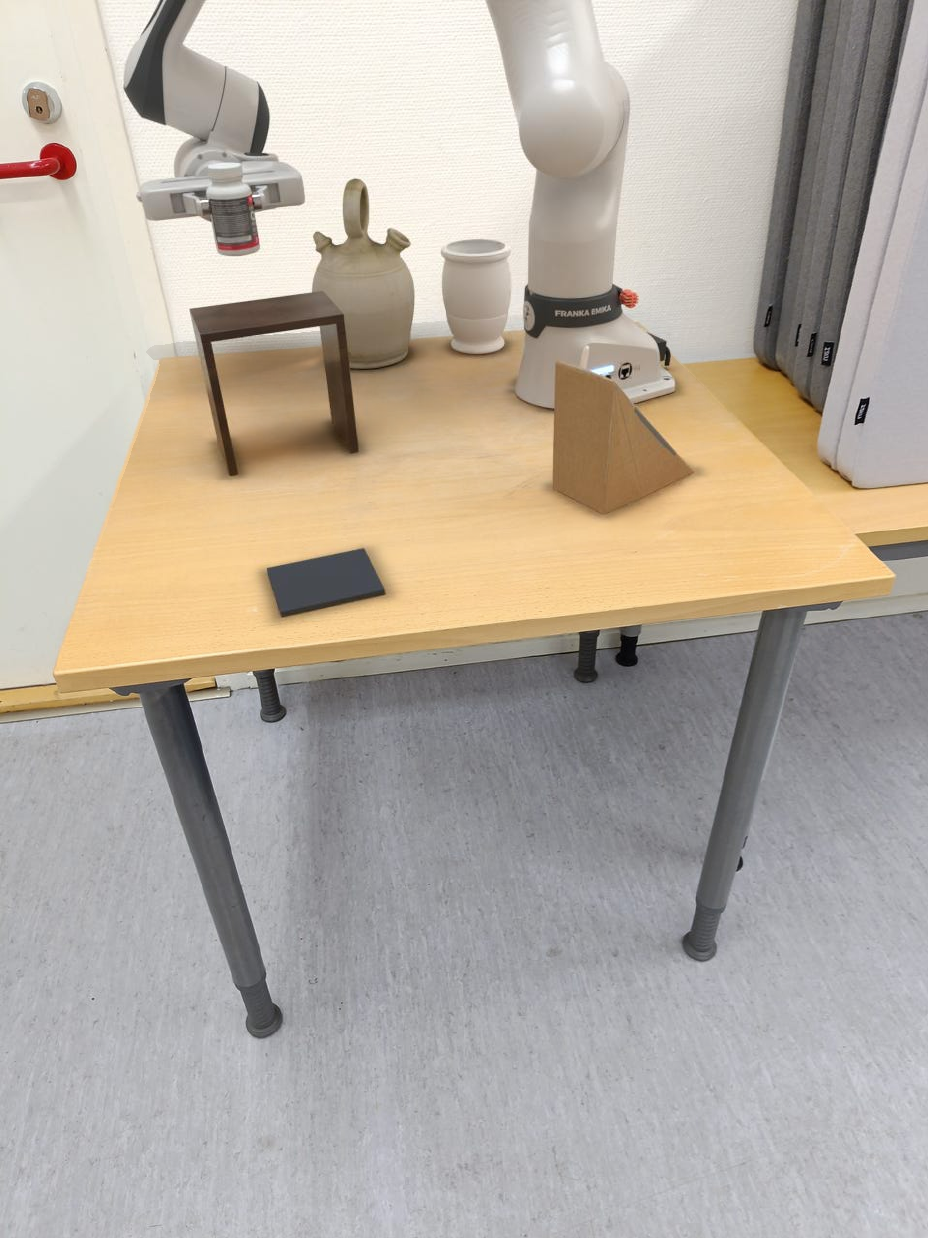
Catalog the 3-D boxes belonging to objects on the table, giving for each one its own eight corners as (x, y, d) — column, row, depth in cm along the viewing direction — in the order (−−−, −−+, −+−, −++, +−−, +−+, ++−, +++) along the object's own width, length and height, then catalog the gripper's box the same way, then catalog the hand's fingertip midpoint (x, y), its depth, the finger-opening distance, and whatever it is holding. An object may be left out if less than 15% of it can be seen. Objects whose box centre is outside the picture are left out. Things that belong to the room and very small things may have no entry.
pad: (364, 552, 89) (364, 547, 88) (385, 594, 83) (384, 589, 82) (267, 572, 86) (266, 567, 86) (281, 617, 80) (280, 611, 80)
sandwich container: (697, 472, 101) (716, 344, 92) (605, 515, 93) (615, 381, 84) (641, 448, 106) (654, 325, 97) (550, 487, 99) (555, 358, 90)
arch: (217, 442, 111) (189, 308, 101) (339, 421, 115) (323, 290, 105) (229, 476, 103) (199, 334, 93) (358, 451, 108) (343, 313, 97)
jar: (520, 339, 139) (521, 240, 130) (495, 361, 131) (494, 257, 122) (461, 332, 143) (458, 235, 134) (433, 352, 135) (428, 251, 126)
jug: (434, 344, 138) (426, 171, 123) (389, 379, 127) (373, 192, 112) (351, 334, 143) (334, 166, 128) (300, 366, 132) (275, 186, 117)
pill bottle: (267, 252, 108) (254, 165, 102) (226, 259, 105) (210, 170, 100) (251, 243, 111) (236, 159, 106) (211, 250, 109) (194, 164, 103)
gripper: (128, 166, 110) (136, 185, 100) (287, 151, 116) (310, 168, 105) (141, 219, 114) (150, 243, 104) (294, 203, 119) (317, 223, 109)
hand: (232, 205), depth 104 cm, fingers closed on pill bottle, 5 cm apart
